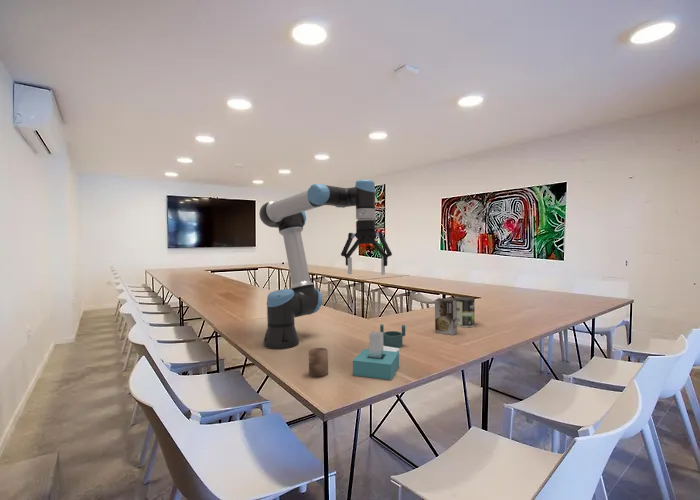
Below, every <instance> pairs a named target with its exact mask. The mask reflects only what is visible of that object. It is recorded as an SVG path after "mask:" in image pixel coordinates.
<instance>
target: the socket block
mask: <svg viewBox="0 0 700 500" xmlns="http://www.w3.org/2000/svg"><path fill="white" fill-rule="evenodd" d="M383 353H384V358H383V359H373V358H369V348H363V349H362V351H360V352H359V353H358V354H357V356H355V357H354V359H352V375H353V376H356V377H357V376H359V377H365V378H374V379H380V380H389V381H392V379H393V377H394V376H395V373H396V372H397V371H398V369H399V367H400V351H399V352H393V351H383Z"/></svg>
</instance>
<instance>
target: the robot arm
mask: <svg viewBox="0 0 700 500" xmlns="http://www.w3.org/2000/svg"><path fill="white" fill-rule="evenodd" d="M375 184H376V183H375V181H373V179H358V180H356V181H355V186H353V187H340V186H333V185H328V184H324V183H314V184H311V185H310V187H308V189H307V190H305V191H302V192H300V193H297V194H294V195H291V196H289V197H286V198H283V199H280V200H271V201H268V202H266V203H264V204H263V205H262V206H260V209H259V214H258V215H259V219H260V220H261V222H262V223H263V224H264V225H265V226H267V227H269V228H276V229H278V232H279V234H280V235H281V236H282V237H283V241H284V242H283V244H284V247H285V254H286V259H287V265H288V270H289V274H290V280H291V286H290V288H284V289H278V290H273V291H271V292H270V293H269V294H268V295H267V297H266V311H267V313H266V314H267V315H266V317H267V328H266V332H265V335H264V338H263V347H265V348H267V349H273V350H283V349H284V350H285V349H289V348H292V347H296V346H298V345H299V343H300V337H299V335H298V332H297V328H296V325H295V318H300V317H305V316H308V315H312V314H315V313H317V312H318V311H319V310H320V308H321V307H322V304H323V297H322V293H321V291H319V288H316V287H315V283H313V282H312V281H311V278H310V274H309V273H310V272H309V268H308V263H307V257H306V253H305V247H304V242H303V237H302V232H303V230H304V226H305V224H306V221H307V215H306V211H311V210H313V209H316V208H320V207H323V206H333V207H336V208H343V209H344V208H347V207H348V208H349V207H355V219H356V221H355V233H353V232H349V233H348V234H347V238H346V239H347V240H346V242H345V244H344V246H343V248H342V250H341V253H340V256H342V257H344V258H345V266H347V275H351V274H353V263H352V262H353V257H351V256H352V254H354V252H355V251H356V249H358V247H359V246H360V245H364V244H365V245H369V244H371V245H372V246H374V248H375V249H376V250H377V251H378V253H379V254H380V255H381V256H382V257H381V258H380V260H381V263H380V264H381V265H380V268H381V269H380V271H381V272H380V273H381V276H384V275H385V274H386V267H387V266H388V258H389V257H392V256H393V253H392V250H391V249H390V247H389V244H388V243H387V241H386V239H385V234H384V232H383V231H380V232H376V221H375V219H376V188H375V187H376V185H375ZM354 238H356V241H355V242H354V244H352V242H353V240H354ZM376 238H378V239H379V241H380V243H381V244H382V246H383V248H382V247H381V245H380V244H379V243H378V242H377V241H376ZM351 244H352V246H351ZM350 246H351V247H350Z"/></svg>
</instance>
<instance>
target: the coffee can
mask: <svg viewBox="0 0 700 500" xmlns="http://www.w3.org/2000/svg"><path fill="white" fill-rule="evenodd" d="M453 299H456V306H457V327H460V328H474V327H475V326H476V324H475V323H476V322H475V321H476V320H475V314H476V313H475V311H476V310H475V300H476V299H475V298H474V297H471V296H470V297H469V296H456V297H453Z"/></svg>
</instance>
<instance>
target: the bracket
mask: <svg viewBox="0 0 700 500" xmlns="http://www.w3.org/2000/svg"><path fill="white" fill-rule="evenodd" d="M379 328H380V329H379V332H383V346H388V347H394V348H399V349H400V348H402V347H403V345H404V344H403V337H405V336H406V325H405V324H401V331H396V330H388V331H385V329H384V324H380V325H379Z"/></svg>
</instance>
